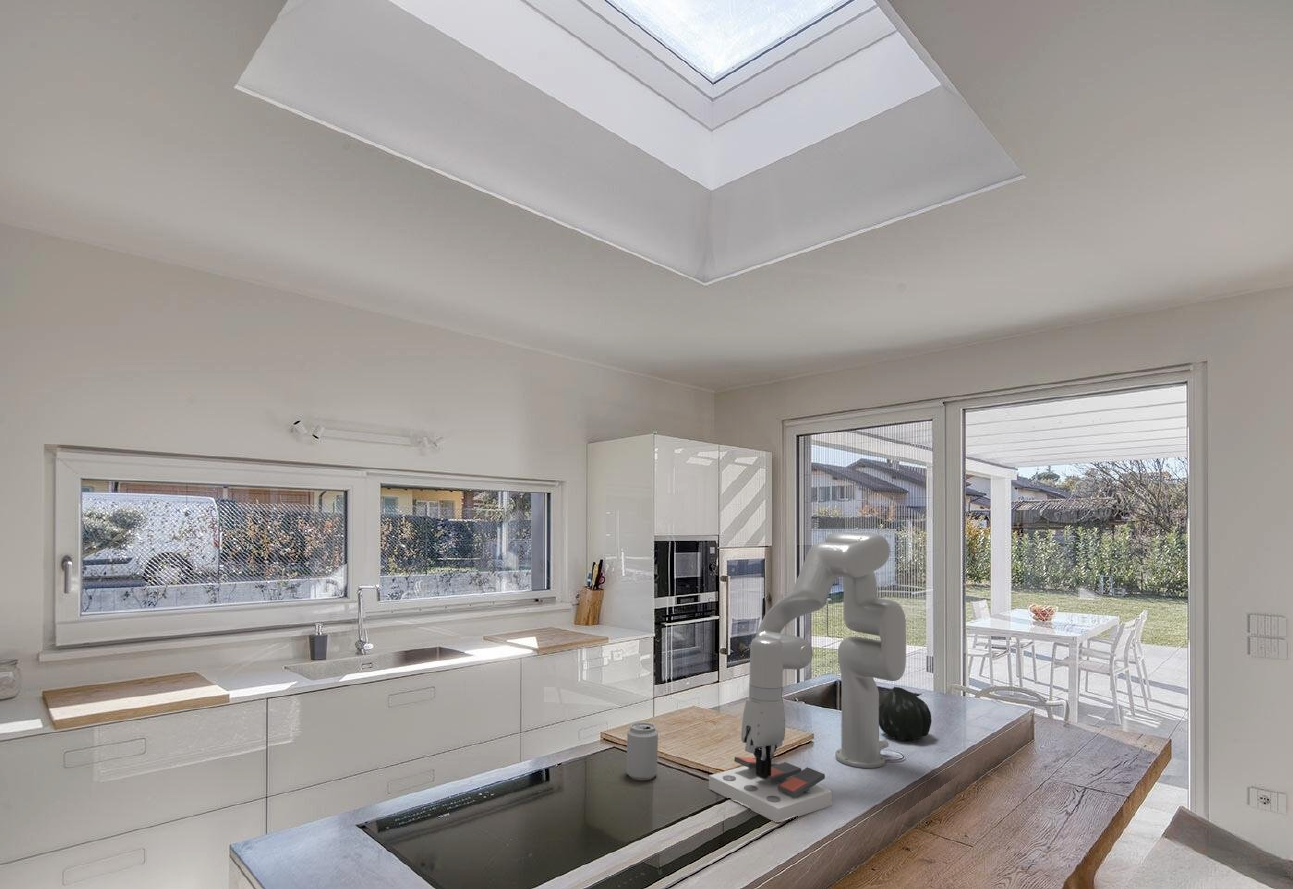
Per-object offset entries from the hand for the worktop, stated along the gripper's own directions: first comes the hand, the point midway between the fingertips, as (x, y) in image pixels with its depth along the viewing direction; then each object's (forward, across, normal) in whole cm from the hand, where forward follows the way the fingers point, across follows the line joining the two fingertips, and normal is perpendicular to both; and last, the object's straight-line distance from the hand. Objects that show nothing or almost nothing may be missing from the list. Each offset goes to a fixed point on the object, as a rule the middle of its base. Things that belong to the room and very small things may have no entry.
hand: (763, 775), depth 166 cm
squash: (+4, -67, -9) cm, 68 cm away
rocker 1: (0, -5, -7) cm, 9 cm away
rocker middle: (0, -5, 0) cm, 5 cm away
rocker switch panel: (+5, -2, 0) cm, 5 cm away
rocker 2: (0, -5, +7) cm, 9 cm away
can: (+6, +15, -26) cm, 31 cm away
